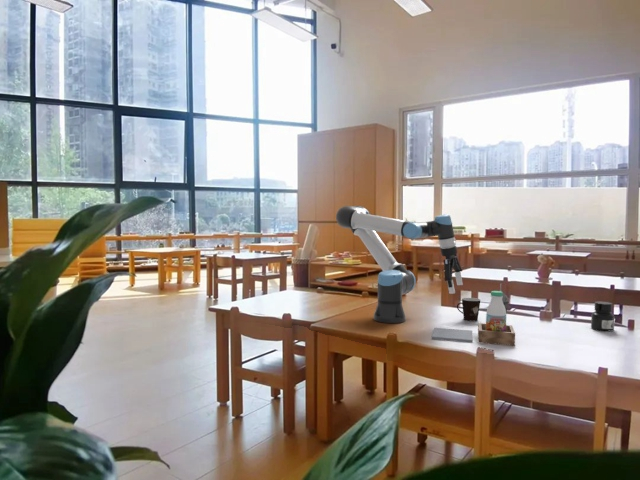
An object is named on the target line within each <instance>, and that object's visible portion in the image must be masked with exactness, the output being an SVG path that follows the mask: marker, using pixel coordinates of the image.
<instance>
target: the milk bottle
mask: <svg viewBox="0 0 640 480" xmlns="http://www.w3.org/2000/svg"><path fill="white" fill-rule="evenodd" d="M503 293H504V292H503V291H502V290H501V291H500V290H492V291H490V297H491V298H490V301H489V304H488V306H487V308H486V314H485V315H486V316H485V324H486V330H488V331H501V332H506V325H507V314H506V309H505V306H504V304H503V301H502V297H503Z"/></svg>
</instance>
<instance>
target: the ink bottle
mask: <svg viewBox="0 0 640 480" xmlns="http://www.w3.org/2000/svg"><path fill="white" fill-rule="evenodd" d="M612 312H613V303H612V302H608V301H594V311H593V312H592V313H591V316H590V317H591V318H590V319H591V321H590V323H591V325H590V328H591V329H592V328H593V330H595V329H597V330H596V331H600V330H604V331H603V332H609V331H608V330H613V331H614V330H615V315H614V314H613V313H612Z"/></svg>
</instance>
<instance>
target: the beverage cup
mask: <svg viewBox="0 0 640 480" xmlns="http://www.w3.org/2000/svg"><path fill="white" fill-rule="evenodd" d="M499 291H501V292H502V283H500V284H499ZM502 301H503V304H504V306H505V309H506V315H507V313H508V307H509V298H508V296H507V295H506V294H505V293H504V292H503V297H502Z"/></svg>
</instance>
